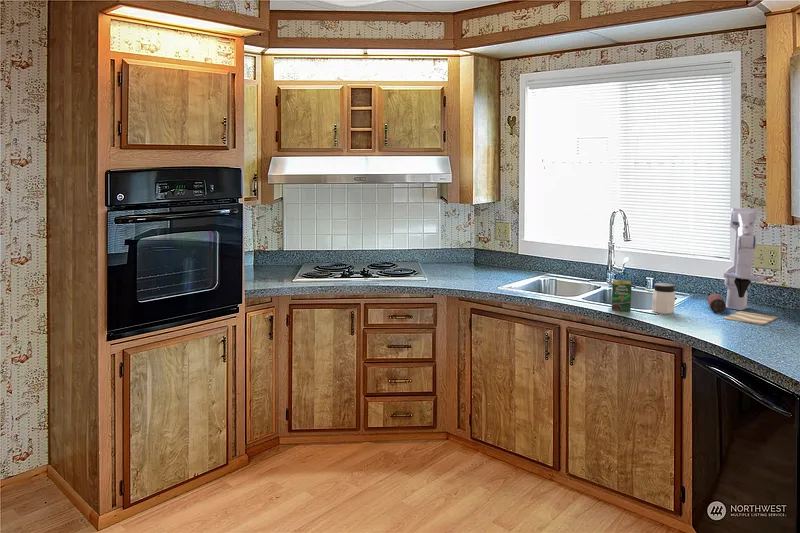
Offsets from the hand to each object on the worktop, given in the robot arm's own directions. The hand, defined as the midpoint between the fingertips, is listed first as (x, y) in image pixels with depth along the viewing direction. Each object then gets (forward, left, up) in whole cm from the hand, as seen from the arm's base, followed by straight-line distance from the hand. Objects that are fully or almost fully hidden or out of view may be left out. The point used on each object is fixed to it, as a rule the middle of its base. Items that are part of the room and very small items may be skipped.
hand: (741, 297), depth 275 cm
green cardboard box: (+24, -40, -9) cm, 48 cm away
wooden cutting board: (-3, +3, -9) cm, 10 cm away
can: (-3, -10, -6) cm, 12 cm away
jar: (+13, -27, -9) cm, 31 cm away
